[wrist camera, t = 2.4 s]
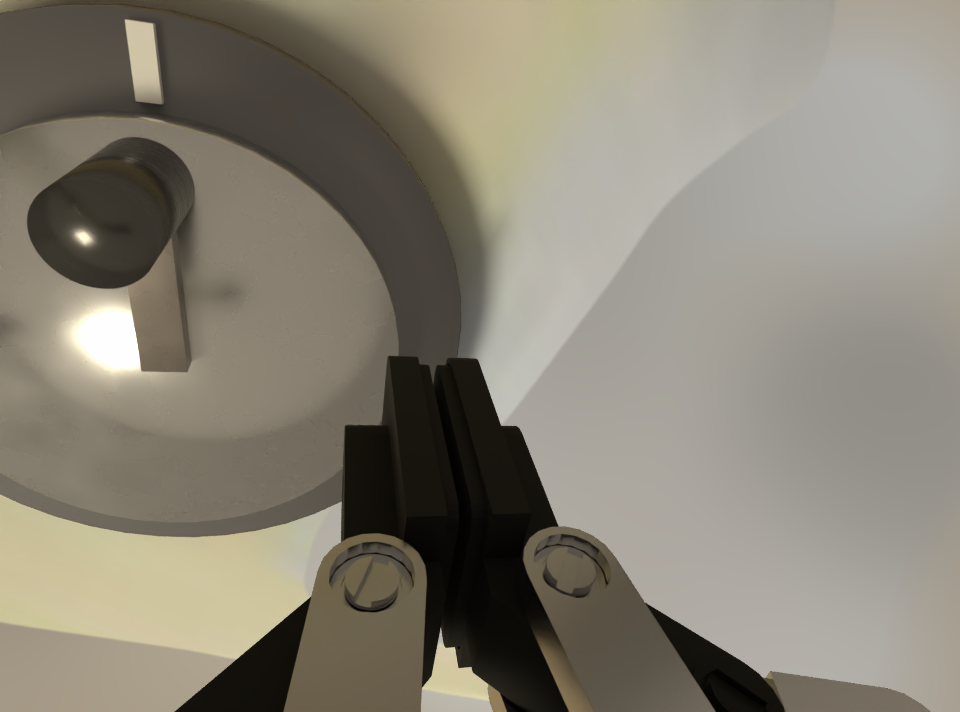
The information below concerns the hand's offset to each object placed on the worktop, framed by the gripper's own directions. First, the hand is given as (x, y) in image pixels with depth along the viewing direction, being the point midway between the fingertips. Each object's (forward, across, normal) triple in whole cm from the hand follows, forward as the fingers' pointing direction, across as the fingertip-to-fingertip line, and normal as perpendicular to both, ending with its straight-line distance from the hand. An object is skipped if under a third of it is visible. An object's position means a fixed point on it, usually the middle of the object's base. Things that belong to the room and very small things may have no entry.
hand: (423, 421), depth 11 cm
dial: (+14, +8, +7) cm, 18 cm away
